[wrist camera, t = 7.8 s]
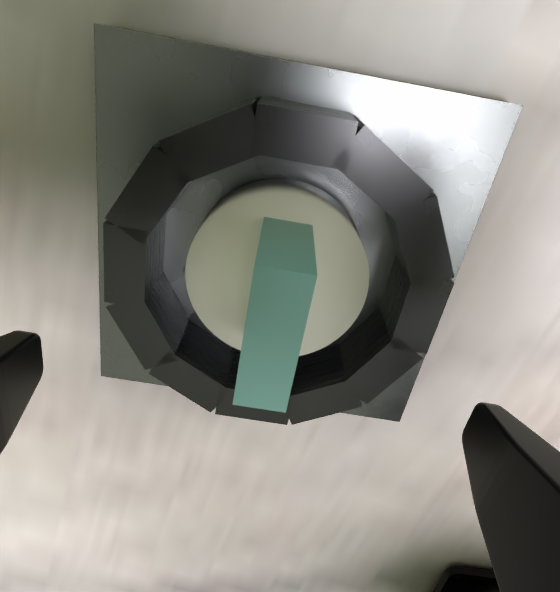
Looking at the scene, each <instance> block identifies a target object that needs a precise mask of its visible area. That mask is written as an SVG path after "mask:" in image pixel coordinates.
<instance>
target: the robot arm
mask: <svg viewBox="0 0 560 592" xmlns="http://www.w3.org/2000/svg"><path fill="white" fill-rule="evenodd" d="M42 373H43V358H42V347H41V339H40V337H39V335H38V334H36V333H32V332H25V331H13V332H11V333H8V334H6V335H3V336H0V454H1V452H2V451H3V449H4V448H5V446H6V445H7V443H8V441H9V439H10V437H11V435H12V434H13V432H14V430H15V428H16V426H17V424H18V422H19V420H20V418H21V416H22V414H23V412H24V410H25V408H26V406H27V404H28V403H29V401H30V399H31V397H32V395H33V393H34V391H35V389H36V387H37V385H38V383H39V381H40V379H41V377H42ZM462 443H463V449H464V454H465V459H466V464H467V469H468V474H469V480H470V485H471V490H472V495H473V500H474V505H475V509H476V513H477V516H478V520H479V524H480V527H481V530H482V533H483V537H484V540H485V543H486V546H487V550H488V553H489V556H490V560H491V563H492V566H493V569H494V571H491V570H484V569H477V568H469V567H462V566H452V567H449V568H448V569H447V570H446V571H445V573H444V575H443V576H442V578H441V580H440V582H439V583H438V585H437V587H436V589H435V590H434V592H560V452H559V451H558V450H557V449H555V448H554V447H553V446H551V445H550V444H549V443H547V442H546V441H545V440H544V439H542V438H541V437H540V436H538V435H537V434H536V433H535V432H533V431H532V430H531V429H529V428H528V427H527V426H526V425H524V424H523V423H522V422H520V421H519V420H518V419H516V418H515V417H514V416H513V415H511V414H510V413H509V412H507V411H506V410H505V409H504V408H502V407H501V406H499V405H496V404H489V403H483V402H481V403H478V404H477V405H476V406H475V408H474V410H473V412H472V414H471V416H470V418H469V420H468V422H467V424H466V426H465V428H464V431H463V434H462Z"/></svg>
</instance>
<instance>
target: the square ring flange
mask: <svg viewBox="0 0 560 592" xmlns="http://www.w3.org/2000/svg"><path fill="white" fill-rule="evenodd" d="M94 42H95V93H96V143H97V194H98V244H99V295H100V345H101V376H105V377H112V378H118V379H125V380H131V381H138V382H145V383H151V384H158V385H164V386H169V387H171V388H172V389H174V390H176V391H177V392H179V393H180V394H182V395H184V396H185V397H187V398H188V399H190V400H192V401H193V402H195V403H197V404H198V405H200V406H201V407H203V408H205V409H206V410H208V411H209V412H211V411H212V410H213V409H214V408H215V407H216V413H215V414H219V415H225V416H232V417H239V418H245V419H252V420H259V421H265V422H272V423H278V424H285V425H287V423H288V419H290V421H291V423H292V424H296V423H300V422H304V421H308V420H312V419H316V418H320V417H324V416H328V415H332V414H335V413H339V412H340V413H347V414H353V415H360V416H366V417H373V418H379V419H386V420H392V421H399V422H400V419H401V416H402V414H403V411H404V409H405V406H406V404H407V401H408V398H409V396H410V393H411V391H412V388H413V386H414V383H415V380H416V378H417V375H418V373H419V370H420V368H421V365H422V363H423V360H424V357H425V355H426V354H427V351H428V349H429V346H430V344H431V341H432V338H433V336H434V333H435V331H436V328H437V326H438V323H439V321H440V318H441V315H442V313H443V310H444V308H445V305H446V303H447V300H448V297H449V295H450V292H451V290H452V287H453V285H454V280H455V278H456V275H457V273H458V270H459V268H460V265H461V262H462V260H463V257H464V255H465V252H466V250H467V247H468V244H469V242H470V239H471V237H472V234H473V232H474V229H475V226H476V224H477V221H478V219H479V216H480V214H481V211H482V209H483V206H484V203H485V201H486V198H487V196H488V193H489V191H490V188H491V185H492V183H493V180H494V178H495V175H496V173H497V170H498V167H499V165H500V162H501V160H502V157H503V155H504V152H505V149H506V147H507V144H508V142H509V139H510V137H511V134H512V132H513V129H514V126H515V124H516V121H517V119H518V116H519V114H520V111H521V108H522V106H523V105H518V104H513V103H509V102H504V101H498V100H493V99H488V98H483V97H477V96H472V95H467V94H462V93H457V92H451V91H446V90H441V89H436V88H430V87H425V86H420V85H415V84H410V83H404V82H399V81H394V80H389V79H383V78H378V77H373V76H368V75H363V74H357V73H352V72H347V71H342V70H336V69H331V68H326V67H321V66H316V65H310V64H305V63H300V62H295V61H289V60H284V59H279V58H274V57H269V56H263V55H258V54H253V53H248V52H242V51H237V50H232V49H227V48H222V47H216V46H211V45H206V44H201V43H195V42H190V41H185V40H180V39H175V38H169V37H164V36H159V35H154V34H148V33H143V32H138V31H133V30H128V29H122V28H117V27H112V26H106V25H100V24H94ZM277 178H283V179H292V180H297V181H301V182H305V183H308V184H310V185H313V186H315V187H317V188H319V189H321V190H323V191H324V192H326V193H328V194H329V195H330V196H332V197H333V198H334V199H336V200H337V201H338V202H339V203H340V204H341V205H342V206H343V207H344V209H345V210H346V211H347V213H348V214H349V215H350V217H351V218H352V220H353V222H354V224H355V226H356V228H357V231H358V233H359V236H360V239H361V242H362V244H363V247H364V250H365V253H366V256H367V261H368V265H369V288H368V292H367V297H366V300H365V303H364V305H363V308H362V310H361V312H360V314H359V315H358V317H357V319H356V320H355V321H354V323H353V324H352V326H351V327H350V328H349V329H348V330H347V331H346V332H345V333H344V334H343V335H342V336H340V337H339V338H338V339H337V340H335V341H334V342H332V343H331V344H329V345H328V346H326V347H324V348H322V349H320V350H318V351H315V352H312V353H309V354H306V355H302V356H299V358H298V362H297V366H296V371H295V375H294V379H293V384H292V388H291V392H290V397H289V401H288V405H287V410H286V413H284V412H278V411H271V410H265V409H258V408H252V407H245V406H238V405H232V404H233V398H234V392H235V385H236V379H237V373H238V366H239V360H240V353H241V351H240V350H238V349H236V348H234V347H232V346H230V345H228V344H227V343H225V342H223V341H222V340H220V339H219V338H218V337H217V336H215V335H214V334H213V333H212V332H211V331H210V330H209V329H208V328H207V327H206V326H205V325H204V323H203V322H202V321H201V320H200V318H199V317H198V315H197V313H196V312H195V310H194V308H193V306H192V304H191V301H190V299H189V295H188V292H187V287H186V280H185V267H186V261H187V255H188V252H189V249H190V246H191V244H192V242H193V240H194V237H195V235H196V234H197V232H198V230H199V228H200V227H201V225H202V223H203V221H204V220H205V218H206V216H207V215H208V213H209V212H210V210H211V209H212V208H213V207H214V206H215V205H216V204H217V203H218V201H220V200H221V199H222V198H223V197H224V196H226V195H227V194H228V193H230V192H232V191H233V190H235V189H236V188H239V187H241V186H243V185H245V184H248V183H251V182H255V181H258V180H264V179H277Z"/></svg>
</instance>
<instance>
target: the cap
mask: <svg viewBox="0 0 560 592" xmlns="http://www.w3.org/2000/svg"><path fill="white" fill-rule="evenodd" d="M185 280H186V287H187V292H188V295H189V299H190V301H191V304H192V306H193V308H194V310H195V312H196V313H197V315H198V317H199V318H200V320H201V321H202V322H203V323H204V325H205V326H206V327H207V328H208V329H209V330H210V331H211V332H212V333H213V334H214V335H215V336H217V337H218V338H219V339H220V340H222V341H223V342H225V343H227V344H228V345H230V346H232V347H234V348H236V349H238V350H240V351H241V353H240V360H239V366H238V373H237V379H236V385H235V392H234V398H233V404H232V405H238V406H245V407H252V408H258V409H265V410H271V411H278V412H284V413H286V410H287V405H288V401H289V397H290V392H291V388H292V384H293V379H294V375H295V371H296V366H297V362H298V358H299V356H302V355H306V354H309V353H312V352H315V351H318V350H320V349H322V348H324V347H326V346H328V345H329V344H331V343H332V342H334V341H335V340H337V339H338V338H339V337H340V336H342V335H343V334H344V333H345V332H346V331H347V330H348V329H349V328H350V327H351V326H352V324H353V323H354V321H355V320H356V319H357V317H358V315H359V314H360V312H361V310H362V308H363V305H364V303H365V300H366V297H367V292H368V288H369V265H368V261H367V256H366V253H365V250H364V247H363V244H362V242H361V239H360V236H359V233H358V231H357V228H356V226H355V224H354V222H353V220H352V218H351V217H350V215H349V214H348V213H347V211H346V210H345V209H344V207H343V206H342V205H341V204H340V203H339V202H338V201H337V200H336V199H334V198H333V197H332V196H330V195H329V194H328V193H326V192H324V191H323V190H321V189H319V188H317V187H315V186H313V185H310V184H308V183H305V182H301V181H297V180H292V179H283V178H277V179H264V180H258V181H255V182H251V183H248V184H245V185H243V186H241V187H239V188H236V189H235V190H233V191H232V192H230V193H228V194H227V195H226V196H224V197H223V198H222V199H221V200H220V201H218V203H217V204H216V205H215V206H214V207H213V208H212V209H211V210H210V212H209V213H208V215H207V216H206V218H205V220H204V221H203V223H202V225H201V227H200V228H199V230H198V232H197V234H196V235H195V237H194V240H193V242H192V244H191V246H190V249H189V252H188V255H187V261H186V267H185Z"/></svg>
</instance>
